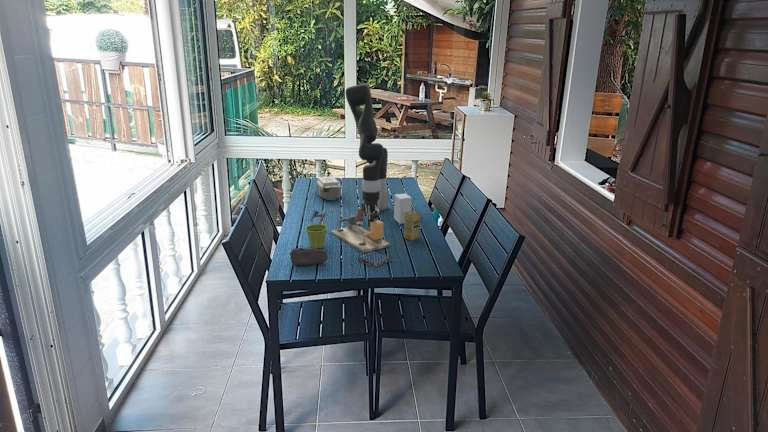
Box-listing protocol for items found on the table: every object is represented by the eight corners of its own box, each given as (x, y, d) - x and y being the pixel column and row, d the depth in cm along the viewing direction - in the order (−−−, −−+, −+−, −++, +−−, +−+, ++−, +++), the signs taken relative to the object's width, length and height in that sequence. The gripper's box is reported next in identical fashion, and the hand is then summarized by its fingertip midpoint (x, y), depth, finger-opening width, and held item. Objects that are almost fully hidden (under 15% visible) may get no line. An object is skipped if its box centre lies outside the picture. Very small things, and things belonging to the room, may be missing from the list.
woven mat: (356, 261, 210) (356, 256, 209) (374, 254, 217) (374, 249, 216) (373, 269, 203) (373, 264, 202) (392, 261, 210) (392, 256, 210)
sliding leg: (378, 237, 228) (378, 220, 225) (383, 239, 225) (383, 222, 222) (360, 241, 223) (360, 223, 220) (365, 244, 220) (365, 226, 217)
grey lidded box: (323, 202, 280) (322, 185, 278) (314, 192, 307) (314, 175, 304) (343, 201, 283) (343, 183, 281) (334, 190, 310) (333, 174, 307)
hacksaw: (314, 212, 268) (314, 210, 267) (334, 213, 267) (334, 210, 267) (305, 229, 245) (305, 226, 244) (327, 229, 244) (327, 226, 244)
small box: (411, 222, 253) (412, 197, 249) (399, 224, 251) (400, 198, 247) (405, 217, 260) (405, 193, 256) (393, 218, 258) (394, 194, 254)
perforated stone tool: (327, 260, 210) (327, 244, 207) (328, 265, 205) (328, 249, 202) (290, 262, 207) (289, 246, 205) (290, 268, 202) (289, 251, 200)
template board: (357, 227, 246) (357, 213, 244) (390, 246, 224) (390, 231, 222) (331, 232, 239) (331, 218, 237) (362, 252, 217) (362, 237, 215)
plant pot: (318, 252, 217) (318, 233, 215) (301, 247, 222) (300, 228, 219) (332, 245, 225) (331, 226, 222) (315, 240, 230) (314, 222, 227)
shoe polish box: (419, 237, 234) (420, 213, 230) (411, 240, 231) (412, 215, 227) (411, 235, 237) (411, 210, 233) (403, 237, 234) (404, 212, 230)
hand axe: (345, 209, 272) (364, 207, 272) (346, 212, 273) (364, 210, 273) (341, 225, 247) (362, 224, 246) (342, 229, 247) (362, 227, 247)
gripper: (386, 191, 218) (386, 229, 224) (370, 184, 228) (370, 220, 234) (371, 194, 214) (371, 232, 220) (355, 186, 224) (355, 223, 230)
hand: (370, 226), depth 227 cm, fingers closed
